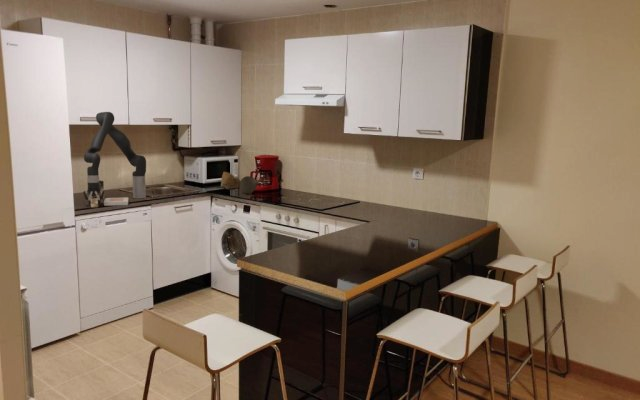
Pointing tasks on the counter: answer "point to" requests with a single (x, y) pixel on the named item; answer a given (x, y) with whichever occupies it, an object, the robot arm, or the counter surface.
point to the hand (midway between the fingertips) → (94, 205)
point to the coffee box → (100, 192)
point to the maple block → (94, 202)
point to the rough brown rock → (229, 181)
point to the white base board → (115, 201)
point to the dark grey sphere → (248, 185)
